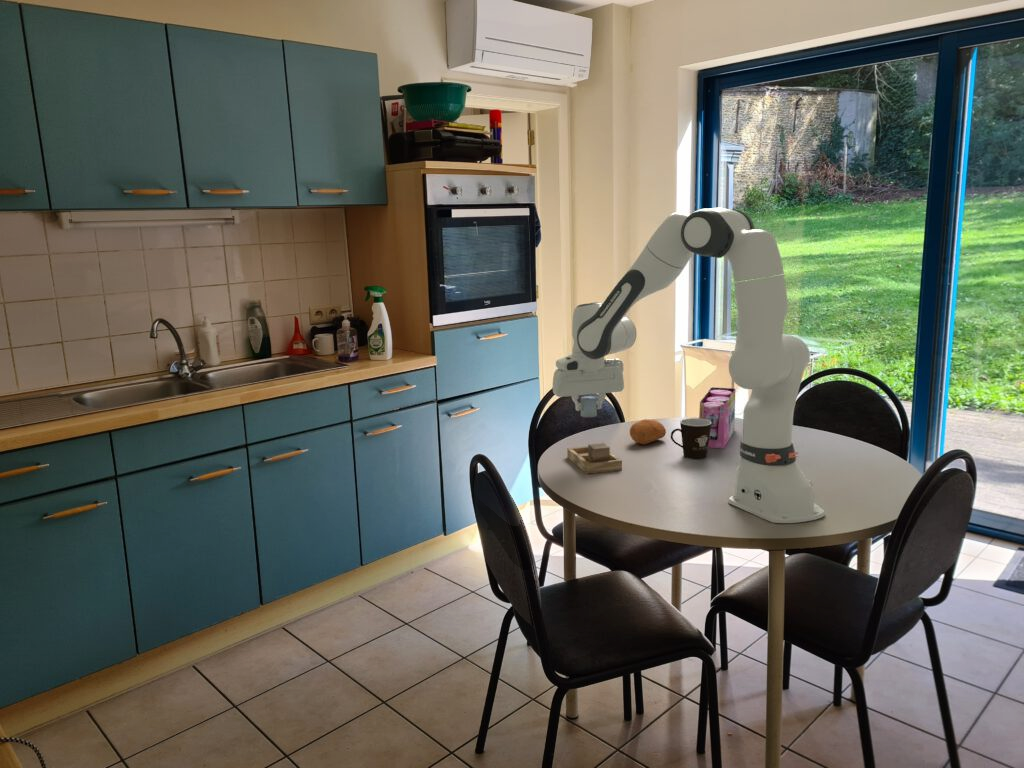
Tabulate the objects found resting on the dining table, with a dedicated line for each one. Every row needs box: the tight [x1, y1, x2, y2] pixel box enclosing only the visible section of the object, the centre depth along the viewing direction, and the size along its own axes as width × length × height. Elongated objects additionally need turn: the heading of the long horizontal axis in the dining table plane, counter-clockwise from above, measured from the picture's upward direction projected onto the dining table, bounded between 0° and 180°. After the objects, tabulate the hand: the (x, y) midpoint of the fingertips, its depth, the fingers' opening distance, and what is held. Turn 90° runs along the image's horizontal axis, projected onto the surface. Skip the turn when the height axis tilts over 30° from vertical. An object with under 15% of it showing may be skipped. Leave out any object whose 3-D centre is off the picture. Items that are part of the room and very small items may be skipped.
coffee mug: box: [670, 417, 711, 460], centre depth 219 cm, size 12×9×10 cm
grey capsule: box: [580, 395, 598, 418], centre depth 216 cm, size 4×4×5 cm
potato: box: [629, 419, 667, 445], centre depth 234 cm, size 7×13×7 cm, turn 123°
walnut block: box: [587, 442, 611, 463], centre depth 211 cm, size 4×4×5 cm
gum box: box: [698, 386, 736, 449], centre depth 235 cm, size 24×8×14 cm, turn 157°
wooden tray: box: [566, 445, 623, 475], centre depth 215 cm, size 16×10×3 cm, turn 15°
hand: (588, 409), depth 216 cm, fingers closed on grey capsule, 4 cm apart
